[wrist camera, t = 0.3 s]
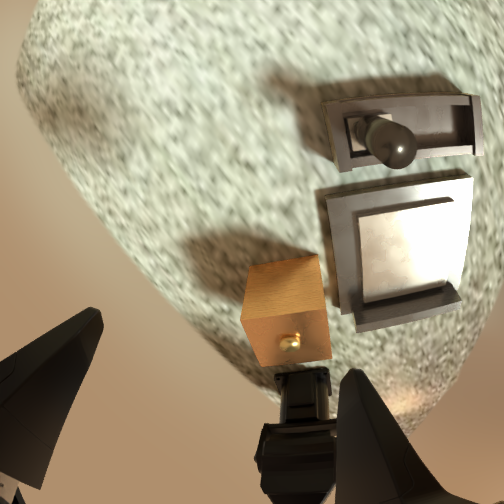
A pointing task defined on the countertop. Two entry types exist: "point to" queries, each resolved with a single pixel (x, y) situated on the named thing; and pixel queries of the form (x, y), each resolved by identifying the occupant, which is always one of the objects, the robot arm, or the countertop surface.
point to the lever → (382, 138)
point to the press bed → (400, 249)
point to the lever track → (410, 124)
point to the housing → (286, 312)
